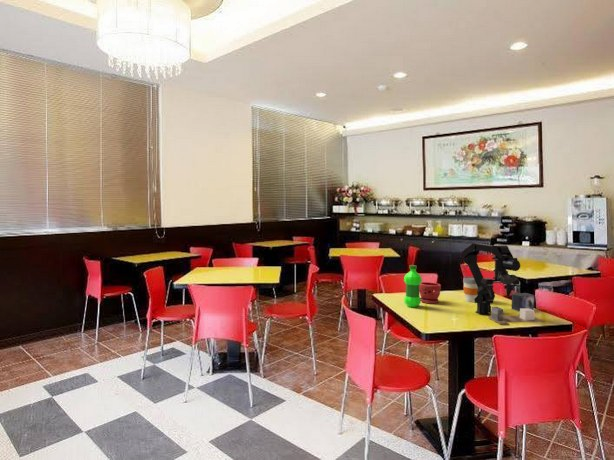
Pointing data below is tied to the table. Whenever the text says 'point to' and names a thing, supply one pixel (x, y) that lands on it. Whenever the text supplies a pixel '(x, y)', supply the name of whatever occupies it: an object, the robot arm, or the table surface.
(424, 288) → the plant pot
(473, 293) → the reusable coffee cup
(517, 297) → the small box
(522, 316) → the off-white block
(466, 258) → the robot arm
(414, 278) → the plastic bottle
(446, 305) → the table surface
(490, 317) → the walnut strip
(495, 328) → the table surface
